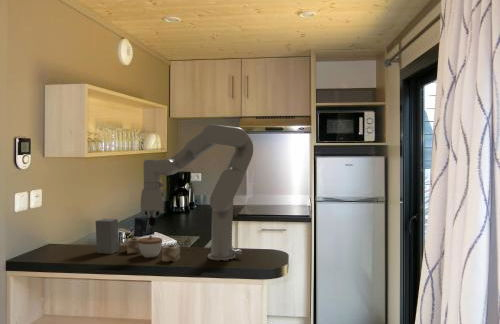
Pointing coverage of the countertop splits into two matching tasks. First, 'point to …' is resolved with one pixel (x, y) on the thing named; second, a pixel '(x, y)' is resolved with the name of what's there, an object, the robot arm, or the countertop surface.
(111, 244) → the skincare box
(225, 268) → the countertop surface
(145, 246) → the lidded jar
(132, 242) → the marked block far
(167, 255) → the marked block near
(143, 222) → the box
